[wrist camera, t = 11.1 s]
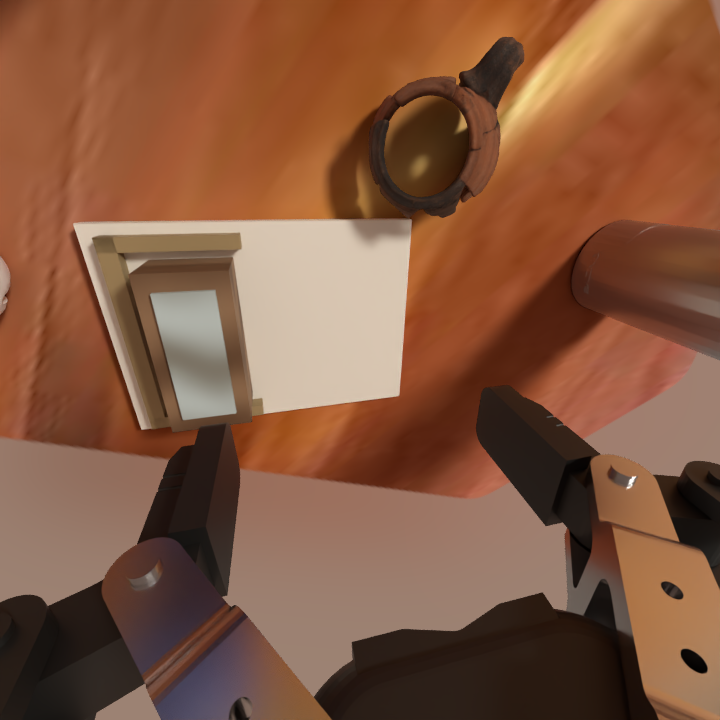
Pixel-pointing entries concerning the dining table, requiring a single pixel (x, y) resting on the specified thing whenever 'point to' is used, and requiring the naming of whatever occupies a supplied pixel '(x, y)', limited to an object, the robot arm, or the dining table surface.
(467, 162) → the pottery mug
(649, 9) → the dining table surface
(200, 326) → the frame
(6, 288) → the water bottle
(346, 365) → the wall board
